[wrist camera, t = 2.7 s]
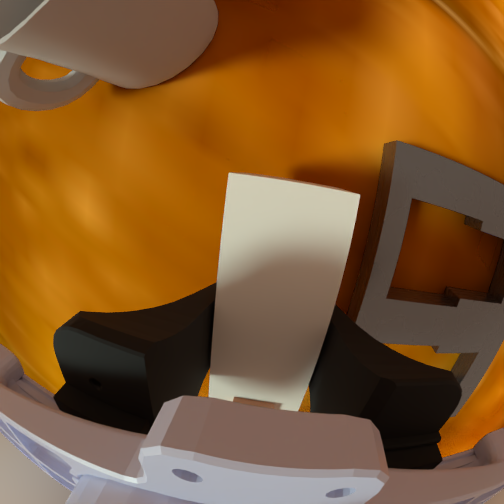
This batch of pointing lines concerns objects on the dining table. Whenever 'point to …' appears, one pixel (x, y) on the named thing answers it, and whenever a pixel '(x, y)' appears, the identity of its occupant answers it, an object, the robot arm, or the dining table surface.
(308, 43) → the dining table surface
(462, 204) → the keyhole plate
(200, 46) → the cup
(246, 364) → the power strip
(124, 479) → the robot arm
